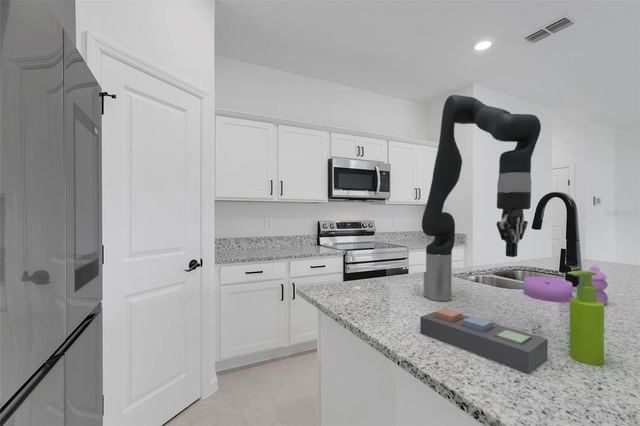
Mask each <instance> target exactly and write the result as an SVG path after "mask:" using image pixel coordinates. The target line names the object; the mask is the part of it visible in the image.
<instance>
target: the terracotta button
mask: <svg viewBox="0 0 640 426" xmlns="http://www.w3.org/2000/svg"><path fill="white" fill-rule="evenodd" d="M434 312H435V318H438V319H441V320H444V321H447V322H450V323H454V322H457V321H459V320H462V315H463V312H459V311H458V310H457V311H456V310H453V309H449V308H446V307H444V308H441V309H439V310H435V311H434Z"/></svg>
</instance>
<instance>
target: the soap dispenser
mask: <svg viewBox="0 0 640 426" xmlns="http://www.w3.org/2000/svg"><path fill="white" fill-rule="evenodd" d="M566 274H567V275H569V276H573V277H579V276H581V279H582V284H581V283H580V284H577V285H576V297H572V298H571V299H570V302H569V338H568V341H569V343H568V344H569V345H568V346H569V347H568V349H569V350H568V351H569V352H568V353H569V357H570V358H571V357H572V360H575V361H578V362H580V363H582V364H586V365H592V366H603V365H604V364H605V362H604V359H605V304H603V303H601V302H599V301H597V288H596V287H595V286H593V285H592V275H596V273H594V272H590V270H572V271H568V272H566Z"/></svg>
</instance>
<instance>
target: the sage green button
mask: <svg viewBox="0 0 640 426" xmlns="http://www.w3.org/2000/svg"><path fill="white" fill-rule="evenodd" d="M497 337H498V338H501V339H504V340H507V341H511V342H514V343H517V344H520V345H524V344H525V343H527V342H528V341H530V337H529V336H525V335H522V334H518V333H515V332H511V331H508V330H505V331H503V332H501V333H500V334H498V335H497Z"/></svg>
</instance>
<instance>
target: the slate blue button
mask: <svg viewBox="0 0 640 426" xmlns="http://www.w3.org/2000/svg"><path fill="white" fill-rule="evenodd" d="M493 323H494V321H492V320H489V319H485V318H481V317H478V316H475V315H472V316H469V318H467V319H464V320H463V327H466V328H469V329H473V330H476V331H479V332H482V333H486V332H488V331H490V330H492V329H493Z"/></svg>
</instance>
